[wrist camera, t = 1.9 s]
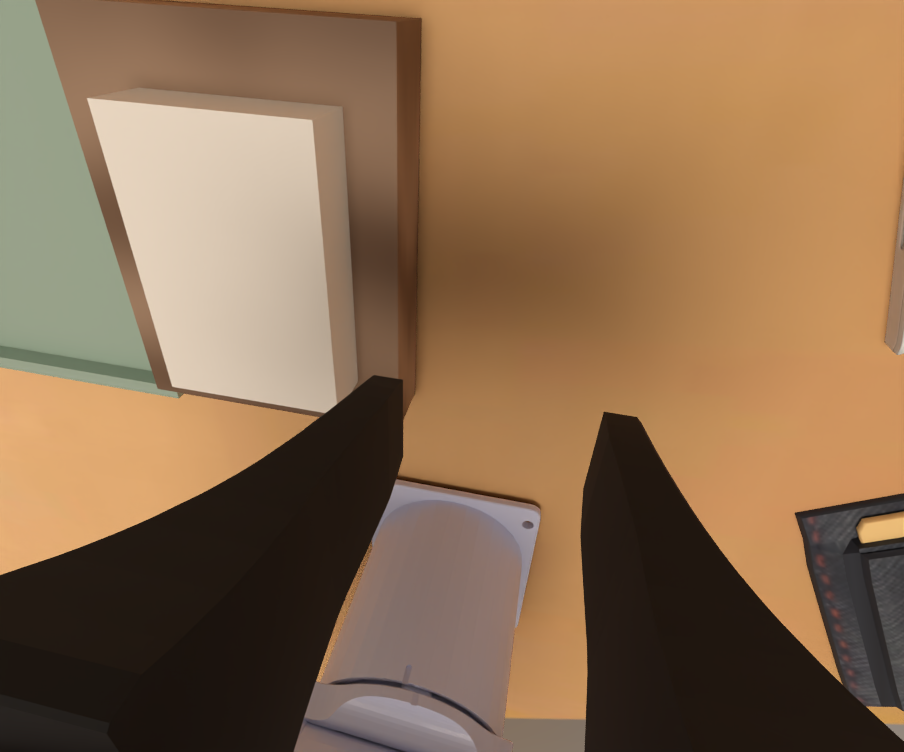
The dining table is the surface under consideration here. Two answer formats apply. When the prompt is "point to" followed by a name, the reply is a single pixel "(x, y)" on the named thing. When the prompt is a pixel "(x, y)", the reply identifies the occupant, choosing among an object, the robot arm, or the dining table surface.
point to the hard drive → (897, 292)
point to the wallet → (861, 592)
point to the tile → (238, 239)
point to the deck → (282, 79)
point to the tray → (55, 231)
